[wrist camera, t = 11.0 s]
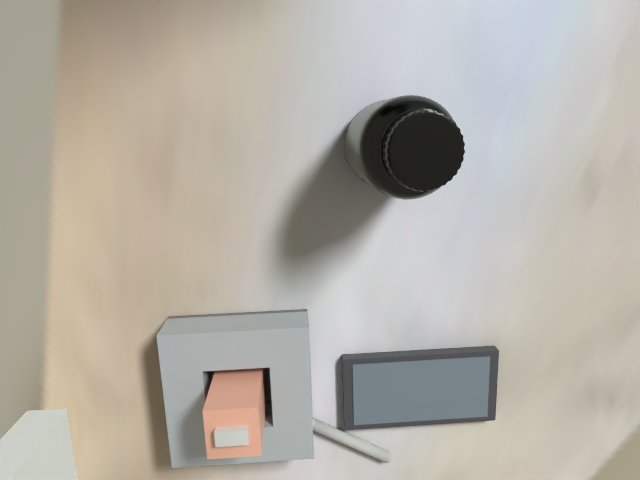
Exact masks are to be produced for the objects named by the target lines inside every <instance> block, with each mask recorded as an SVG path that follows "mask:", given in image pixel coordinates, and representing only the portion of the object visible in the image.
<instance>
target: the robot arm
mask: <svg viewBox="0 0 640 480" xmlns="http://www.w3.org/2000/svg"><path fill="white" fill-rule="evenodd" d="M0 480H78V478H77V472H76V466H75V460H74V454H73V448H72V442H71V436H70V430H69V424H68V418H67V412H66V409H51V410H35V411H27V412H26V413H25V414H24V415H23V416H22V417H21V418H20V419H19V420H18V421H17V422H16V423H15V424H14V426H13V427H12V428H11V429H10V430H9V431H8V432H7V433H6V434H5V435H4V436H3V437H2V439H1V440H0Z"/></svg>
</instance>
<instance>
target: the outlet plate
mask: <svg viewBox="0 0 640 480" xmlns="http://www.w3.org/2000/svg"><path fill="white" fill-rule="evenodd" d="M156 337H157V345H158V354H159V363H160V371H161V380H162V388H163V397H164V406H165V414H166V423H167V431H168V440H169V449H170V457H171V466H172V468H183V467H198V466H213V465H227V464H242V463H257V462H271V461H286V460H301V459H314V444H313V419H312V395H311V371H310V347H309V325H308V314H307V309H304V310H285V311H266V312H247V313H228V314H209V315H190V316H171V317H168V318H167V320H166V321H165V323H164V325H163V326H162V328H161V329H160V331H159V332H158V334H157V335H156ZM254 368H265V381H266V397H267V399H266V411H265V422H264V434H263V445H262V456H251V457H236V458H222V459H207V452H206V441H205V431H204V421H203V408H204V404H205V401H206V398H207V395H208V392H209V388H210V385H211V382H212V379H213V375H214V372H215V371H220V370H237V369H254Z"/></svg>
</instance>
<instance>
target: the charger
mask: <svg viewBox="0 0 640 480" xmlns="http://www.w3.org/2000/svg"><path fill="white" fill-rule="evenodd" d="M266 399H267V397H266V381H265V368H254V369H237V370H220V371H215V372H214V375H213V379H212V382H211V385H210V388H209V392H208V395H207V398H206V401H205V404H204V408H203V421H204V431H205V441H206V452H207V459H222V458H236V457H251V456H262V445H263V434H264V422H265V411H266Z"/></svg>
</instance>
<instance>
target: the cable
mask: <svg viewBox="0 0 640 480" xmlns="http://www.w3.org/2000/svg"><path fill="white" fill-rule="evenodd" d="M312 419H313V431H315V432H317V433H319V434H322V435H324V436H326V437H328V438H331V439H333V440H335V441H338V442H340V443H342V444H344V445H347V446H349V447H351V448H354V449H356V450H358V451H360V452H363V453H365V454H367V455H370V456H372V457H374V458H376V459H379V460H381V461H383V462H386V463H389V462H391V461H392V454H391V453H390V452H388V451H386V450H384V449H382V448H379V447H377V446H375V445H373V444H370V443H368V442H366V441H364V440H361V439H359V438H357V437H355V436H352V435H350V434H348V433H345V432H343V431H341V430H339V429H336V428H334V427H332V426H330V425H327V424H325V423H323V422H321V421H318V420H316V419H314V418H312Z"/></svg>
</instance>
